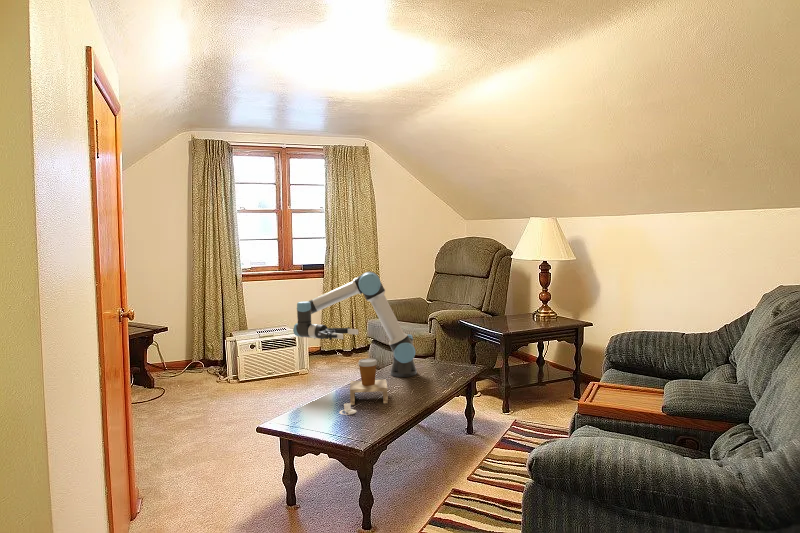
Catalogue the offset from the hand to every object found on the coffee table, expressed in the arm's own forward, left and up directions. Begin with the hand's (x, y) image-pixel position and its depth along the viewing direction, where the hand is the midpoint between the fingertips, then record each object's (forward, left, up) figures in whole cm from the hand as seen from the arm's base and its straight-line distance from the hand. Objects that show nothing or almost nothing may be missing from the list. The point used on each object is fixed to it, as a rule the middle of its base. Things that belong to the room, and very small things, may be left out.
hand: (350, 334), depth 293 cm
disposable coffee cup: (-8, +16, -23) cm, 29 cm away
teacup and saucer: (+3, +37, -31) cm, 48 cm away
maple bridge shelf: (-8, +16, -30) cm, 35 cm away
